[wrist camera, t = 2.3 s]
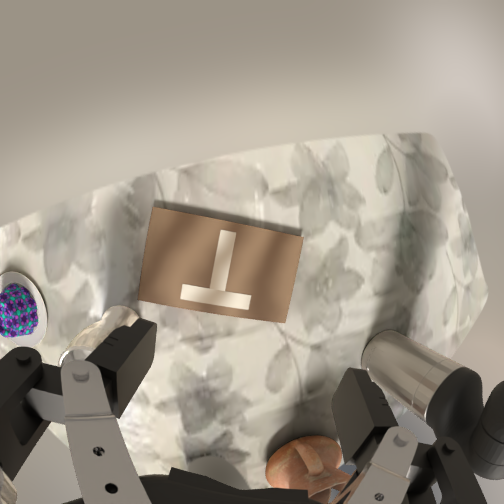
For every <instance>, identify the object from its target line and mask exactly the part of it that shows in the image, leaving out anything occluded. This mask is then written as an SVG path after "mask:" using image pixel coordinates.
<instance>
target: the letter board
mask: <svg viewBox="0 0 504 504" xmlns="http://www.w3.org/2000/svg"><path fill="white" fill-rule="evenodd" d="M303 238H304V237H300V236H296V235H291V234H286V233H282V232H277V231H272V230H268V229H263V228H258V227H253V226H249V225H244V224H239V223H234V222H229V221H224V220H219V219H214V218H209V217H204V216H199V215H194V214H189V213H183V212H178V211H173V210H168V209H162V208H157V207H153V208H152V213H151V218H150V223H149V229H148V234H147V240H146V246H145V252H144V258H143V264H142V271H141V278H140V285H139V293H138V300H141V301H146V302H151V303H156V304H161V305H167V306H172V307H178V308H183V309H189V310H195V311H201V312H207V313H213V314H220V315H226V316H233V317H240V318H248V319H255V320H263V321H271V322H279V323H285V322H286V317H287V313H288V309H289V304H290V300H291V295H292V291H293V286H294V282H295V277H296V272H297V268H298V263H299V258H300V253H301V248H302V243H303Z"/></svg>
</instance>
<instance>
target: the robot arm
mask: <svg viewBox="0 0 504 504" xmlns="http://www.w3.org/2000/svg"><path fill="white" fill-rule="evenodd" d="M156 332H157V324H156V323H154V322H151V321H148V320H145V319H142V318H138V319H137V320H136V321H135V322H134V323H133V324H132V326H131V327H129V326H126V325H123V326H121V327H118V328H116V329H114V330H113V331H112V332H111V333H110V334H109V335H108V337H106V338H105V339H104V340H103V342H101V343H100V344H99V345H98V346H97V347H96V348H95V350H94V351H93V352H92V353H91V354H90V355H89V356H88V357H87V358H86V359H85V360H73V361H69V362H67V363H66V364H65V365H64V366H63V367H58V366H53V365H49V364H45V363H42V359H41V355H40V354H39V352H38V351H37V350H35V349H33V348H31V347H24V346H22V347H17V348H14V349H12V350H11V351H10V352H8V353H7V354H6V355H5V356H4V357H3V358H2V359H0V504H16V501H17V491H16V487H15V485H14V484H13V482H12V481H13V480H14V478H15V476H16V475H17V473H18V471H19V470H20V468H21V466H22V465H23V463H24V462H25V460H26V459H27V457H28V456H29V454H30V453H31V451H32V449H33V448H34V446H35V445H36V443H37V442H38V440H39V439H40V437H41V436H42V435H43V433H44V432H45V430H46V429H47V427H48V426H49V424H50V423H51V421H52V422H56V423H60V424H64V425H65V426H66V431H67V437H68V442H69V447H70V451H71V456H72V460H73V465H74V469H75V472H76V476H77V480H78V484H79V487H80V490H81V494H82V498H79V499H76V500H73V501H70V502H67V503H63V504H323V503H321V502H319V501H316V500H313V499H309V497H308V490H303V489H287V488H266V489H253V490H239V489H236V488H233V487H231V486H228V485H226V484H223V483H221V482H218V481H216V480H213V479H211V478H209V477H207V476H203V475H199V474H195V473H191V472H187V471H184V470H180V469H177V468H173V467H171V470H170V473H169V475H163V474H153V475H144V476H138V474H137V472H136V470H135V467H134V465H133V462H132V460H131V458H130V455H129V453H128V450H127V447H126V445H125V442H124V440H123V437H122V434H121V431H120V428H119V425H118V423H117V420H116V418H118V419H120V417H121V415H122V414H123V412H124V410H125V409H126V407H127V405H128V404H129V402H130V400H131V399H132V397H133V395H134V394H135V392H136V390H137V389H138V387H139V385H140V384H141V382H142V380H143V379H144V377H145V375H146V374H147V372H148V370H149V369H150V367H151V365H152V362H153V359H154V353H155V342H156ZM361 365H362V369H356V368H348V369H347V370H346V372H345V374H344V376H343V378H342V380H341V382H340V384H339V386H338V388H337V390H336V392H335V394H334V396H333V399H332V410H333V415H334V419H335V423H336V427H337V432H338V436H339V440H340V445H341V449H342V454H343V458H344V463H345V465H356V467H357V469H356V470H355V471H354V472H353V474H352V475H351V477H350V478H349V479H348V481H347V482H346V484H345V485H344V487H343V488H342V489H341V491H340V492H339V493H338V495H337V496H336V497H335V499H334V500H333V501H332V502H331V504H436V501H435V497H434V494H433V491H432V489H431V486H432V485H433V484H434V483H436V482H438V485H439V488H440V490H441V493H442V500H441V503H440V504H487V502H486V500H485V497H484V495H483V493H482V490H481V488H480V486H479V484H478V482H477V479H476V477H475V475H474V473H475V474H477V475H479V476H480V477H483V478H486V479H490V480H500V479H504V381H502V382H501V383H499V384H498V385H497V386H496V387H495V388H494V389H493V391H492V392H491V394H490V396H489V398H488V400H487V402H486V404H485V407H484V406H483V398H482V381H481V378H480V376H479V375H478V374H477V373H476V372H475V371H472V370H470V369H469V368H467V367H465V366H463V365H461V364H459V363H456V362H455V361H453V360H451V359H449V358H447V357H445V356H443V355H441V354H439V353H437V352H435V351H433V350H431V349H429V348H427V347H425V346H423V345H421V344H419V343H417V342H415V341H414V340H412V339H410V338H408V337H406V336H404V335H402V334H400V333H398V332H396V331H394V330H386V331H383V332H381V333H379V334H378V335H376V336H375V337H374V338H373V339H372V340H371V341H370V342H369V344H368V345H367V347H366V348H365V350H364V353H363V356H362V363H361ZM371 379H372V380H373V381H374V382H372V381H371ZM377 384H378V385H379V386H380V387H381V388H382V389H384V390H385V391H386V392H387V393H389V394H390V395H391V396H392V397H393V398H395V399H396V400H397V401H398V402H400V403H401V404H402V405H403V406H405V407H406V408H407V409H408V410H410V411H411V412H412V413H413V414H415V415H416V416H417V417H419V418H420V419H421V420H422V421H424V422H425V423H426V424H427V425H429V426H430V427H431V428H432V429H433V431H434V433H435V436H436V438H437V440H436V441H435V442H434V443H433V445H428V444H423V443H418V441H417V438H416V436H415V435H414V434H413V433H412V432H411V431H410V430H408V429H406V428H403V427H399V426H398V423H397V421H396V419H395V417H394V415H393V412H392V410H391V408H390V406H388V405H389V404H388V402H387V400H386V399H385V395H384V393H383V391H382V389H381V388H380V387H379V386H378V385H377Z"/></svg>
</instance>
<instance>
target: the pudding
mask: <svg viewBox="0 0 504 504" xmlns="http://www.w3.org/2000/svg"><path fill="white" fill-rule="evenodd" d="M11 283H18V284H21V285H23V286H24V287H25V288H24V287H20V288H19V286H18V285H17V284H11ZM9 284H11V285H10V286H9V287H7V288H5V287H6V286H7V285H9ZM4 288H5V289H4ZM26 288H27V289H28V290H29V291H30V293H31V294H32V296H33V297H34V299H35V301H34V300H33V299H32V298H30V293H29V291H28V290H27V289H26ZM35 302H36V303H35ZM36 304H37V305H36ZM37 307H38V312H39V322H38V317H37V314H36V312H37ZM37 324H38V326H37ZM35 326H37V328H36V330H35V331H34V332H33V327H35ZM46 329H47V313H46V308H45V304H44V301H43V299H42V297H41V294H40V293H39V291H38V289H37V288H36V286H35V285H34V284H33V283H32V282H31V281H30V279H28V278H27V277H26V276H24V275H23V274H21V273H18V272H12V271H10V272H6V273H4V274H2V275H1V276H0V334H1V335H2V336H4V337H7V338H8V339H9V340H10V341H11V342H13V343H14V344H16V345H18V346H21V347H22V346H24V347H34V346H36V345H38V344H39V343H40V342H41V341H42V340H43V338H44V336H45V333H46ZM32 332H33V333H32ZM31 333H32V334H31ZM29 334H31V335H29ZM24 335H28V336H24Z"/></svg>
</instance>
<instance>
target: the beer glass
mask: <svg viewBox="0 0 504 504" xmlns="http://www.w3.org/2000/svg"><path fill="white" fill-rule="evenodd" d="M138 318H140V317H139V316H138V315H137V313H136V312H135V311H133V310H132V309H131V308H129V307H126V306H122V305H117V306H113V307H110V308H109V309H107V310H106V311H105V313H104V314H103V316H102V318H101V321H98V322H96V323H93V324H91V325H89V326H88V327H86V328H84V329H83V330H82V331H81V332H80V333H78V334H77V335H76V336H75V338H74V339H73V340H72V341H71V342H70V344H69V345H68V346H67V348H66V349H65V351H64V352H63V353H62V354H61V356H60V358H59V361H58V367H63V366H64V365H65V364H66V363H67V362H69V361H73V360H85V359H86V358H87V357H88V356H89V355H90V354H91V353H92V352H93V351H94V350H95V348H96V347H97V346H98V345H99V344H100V343H101V342H103V340H104V339H105V338H106V337H108V335H109V334H110V333H111V332H112V331H113V330H114V329H116V328H118V327H121V326H123V325H126V326H129V327H131V326H132V324H133V323H134V322H135V321H136V320H137V319H138Z"/></svg>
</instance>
